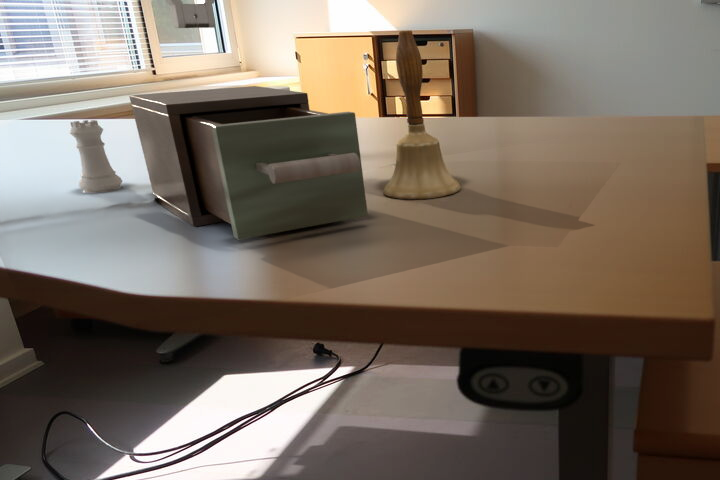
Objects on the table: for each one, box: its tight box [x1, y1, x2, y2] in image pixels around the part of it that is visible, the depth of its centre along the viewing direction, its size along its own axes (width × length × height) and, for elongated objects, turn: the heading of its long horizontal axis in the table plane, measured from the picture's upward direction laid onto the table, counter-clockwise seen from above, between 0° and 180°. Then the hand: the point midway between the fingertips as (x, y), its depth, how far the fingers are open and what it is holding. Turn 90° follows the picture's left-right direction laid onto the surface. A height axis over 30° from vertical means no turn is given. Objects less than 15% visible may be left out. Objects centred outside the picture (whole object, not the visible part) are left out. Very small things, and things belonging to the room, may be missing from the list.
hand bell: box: [383, 30, 461, 200], centre depth 77 cm, size 8×8×16 cm
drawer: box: [180, 106, 369, 241], centre depth 65 cm, size 18×12×9 cm, turn 38°
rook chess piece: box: [68, 119, 123, 194], centre depth 81 cm, size 4×4×8 cm
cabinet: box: [128, 85, 311, 228], centre depth 75 cm, size 15×13×11 cm
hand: (195, 28), depth 61 cm, fingers closed
